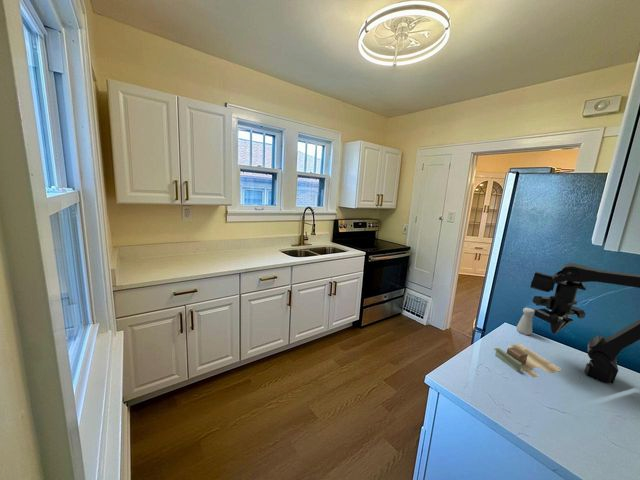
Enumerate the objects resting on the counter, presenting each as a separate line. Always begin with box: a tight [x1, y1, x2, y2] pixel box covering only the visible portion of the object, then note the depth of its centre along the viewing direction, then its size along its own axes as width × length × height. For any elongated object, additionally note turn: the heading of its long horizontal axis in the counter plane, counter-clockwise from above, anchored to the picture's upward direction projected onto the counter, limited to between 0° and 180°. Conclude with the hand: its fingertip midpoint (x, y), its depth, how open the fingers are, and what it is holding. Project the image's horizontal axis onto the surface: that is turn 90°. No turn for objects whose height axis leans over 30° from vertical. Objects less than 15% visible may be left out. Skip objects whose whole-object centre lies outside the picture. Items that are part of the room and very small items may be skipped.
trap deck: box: [493, 343, 563, 378], centre depth 101 cm, size 18×16×4 cm
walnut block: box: [506, 347, 528, 365], centre depth 99 cm, size 4×4×4 cm
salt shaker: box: [515, 307, 535, 336], centre depth 119 cm, size 6×6×13 cm
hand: (553, 333), depth 101 cm, fingers closed
